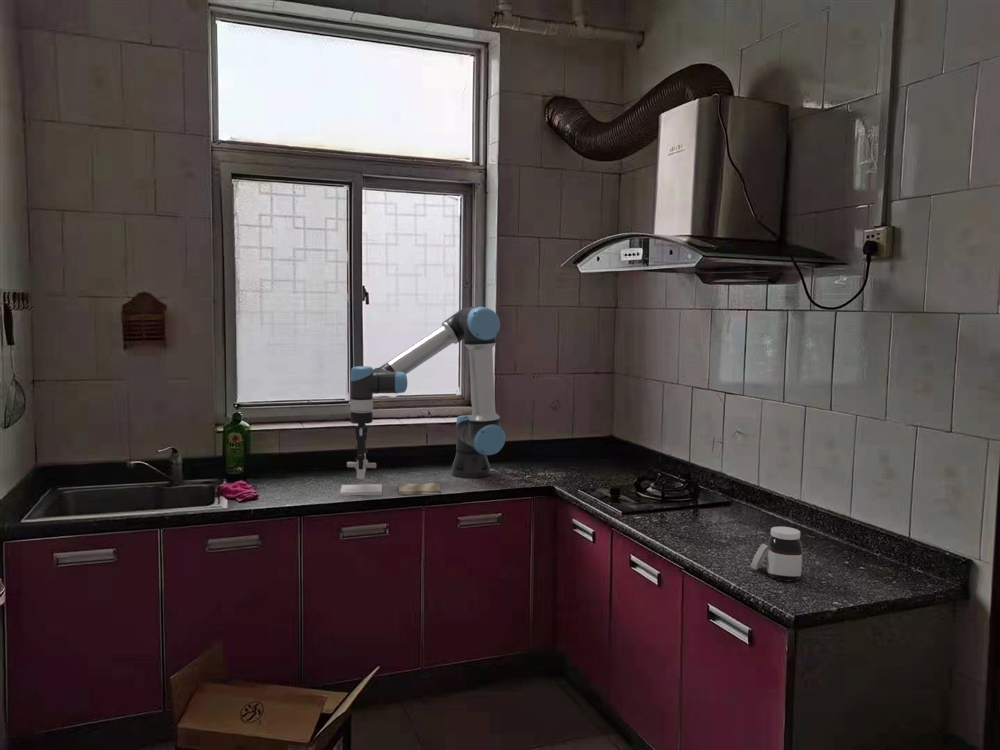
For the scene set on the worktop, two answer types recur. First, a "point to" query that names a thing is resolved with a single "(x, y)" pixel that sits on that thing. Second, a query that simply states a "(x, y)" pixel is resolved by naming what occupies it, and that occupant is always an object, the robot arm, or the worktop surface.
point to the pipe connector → (367, 465)
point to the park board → (419, 488)
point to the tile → (361, 489)
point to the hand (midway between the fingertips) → (361, 474)
